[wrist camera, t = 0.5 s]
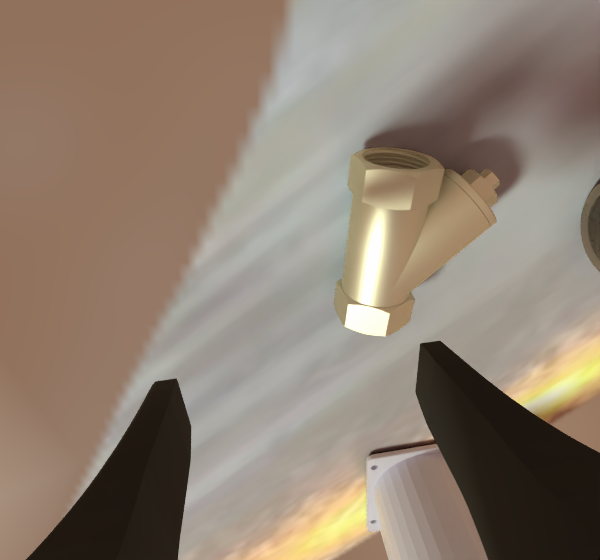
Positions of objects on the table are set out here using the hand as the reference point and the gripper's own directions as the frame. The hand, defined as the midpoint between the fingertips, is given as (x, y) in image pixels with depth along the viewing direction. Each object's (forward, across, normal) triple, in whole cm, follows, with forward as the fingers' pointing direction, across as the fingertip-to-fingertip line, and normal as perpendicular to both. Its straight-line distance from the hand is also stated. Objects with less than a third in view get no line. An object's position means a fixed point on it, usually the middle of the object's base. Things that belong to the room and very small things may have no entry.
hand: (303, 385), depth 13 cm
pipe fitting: (+10, -6, 0) cm, 12 cm away
